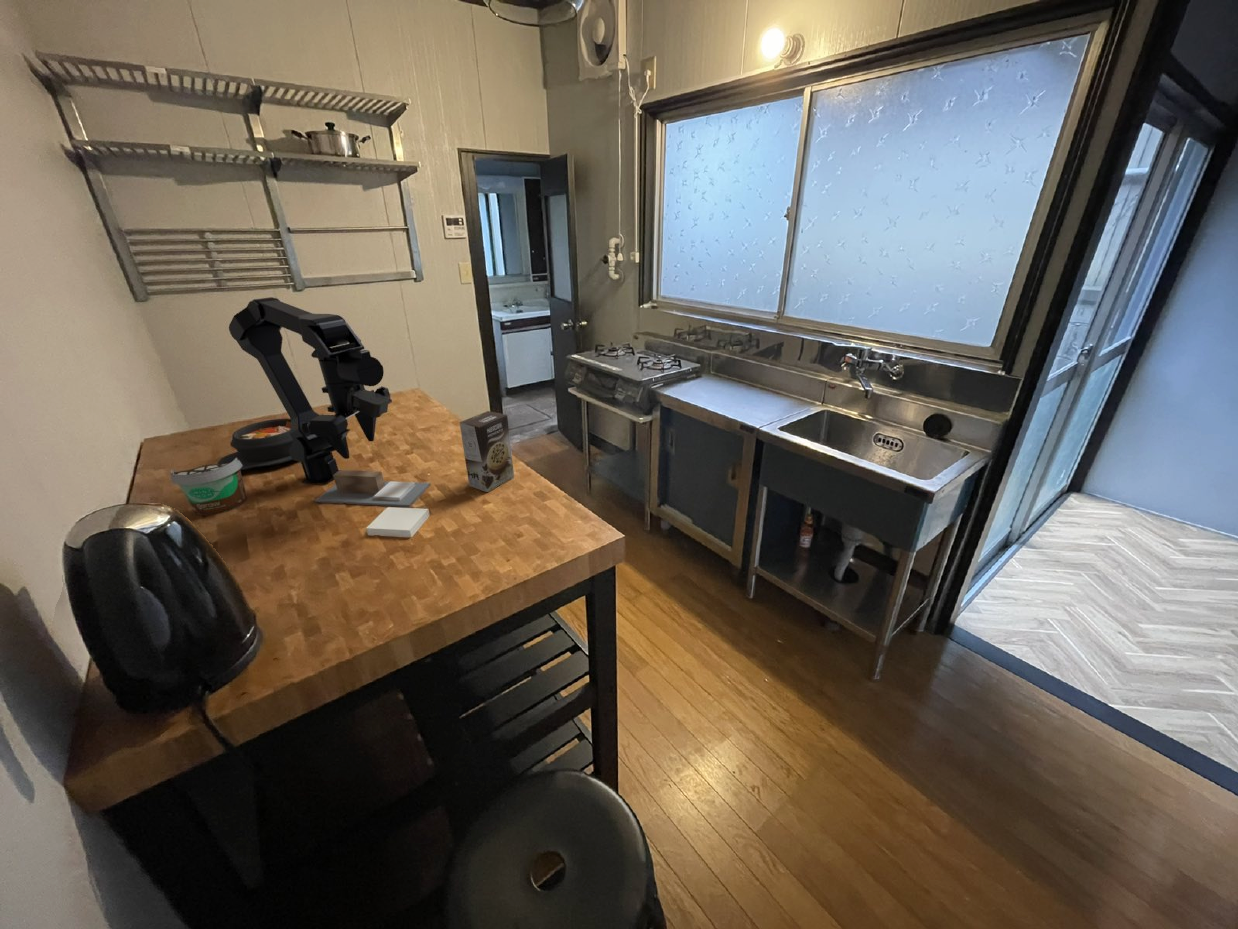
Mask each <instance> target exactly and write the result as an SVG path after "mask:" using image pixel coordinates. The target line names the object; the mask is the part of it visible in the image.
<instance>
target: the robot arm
mask: <svg viewBox="0 0 1238 929" xmlns="http://www.w3.org/2000/svg"><path fill="white" fill-rule="evenodd" d="M283 328H284V329H286V330H289V331H291V332H293V333H296V334H298V335H300V336H301V339H302V341H303V342H304V343H305V344H306V345H308V346H310V347H312V348H313V351H312V352H311V355H310V356H311V357H312V358H313V359H317V360H318V363H319V366H320V371H321V373H322V377H323V381H324V384H325V386H322V387H321V391H322V394H328V397H329V401H330V405H329V406H327V413H334V414H319V413H317V412H316V411H315V410H314V409H313V407H312V405H311V404H310V401H309V400H308V398H307V396H306V395H305V392H304V391H303V389H302V387H301V385H300V383H299V381H298V379H297V378H296V376H295V374H294V372H293V371H292V369H291V367H290V365H289V363H288V362H287V360H286V358H285V355H284V354H283V352H282V347H283V345H282V344H283V335H282V333H281V331H282V329H283ZM228 331H229V334H230V335H231V337H232V338H233V340H235V341H236V342H237V344H238V345H239V347H240V348H241V350H242V351H243V352H245V353H246V354H249V355H250V356H252V357H253V358H255V359H256V360H257V361H258V363H259V364H260V367H261V368H262V370H263V372H264V374H265V375H266V377H267V379H268V380H269V383H270V384H271V386H272V388H273V390H274V391H275V394H276V396H277V397H278V399H279V401H280V402H281V404H282V405H283V408H284V409H285V411H286V413H287V415H288V417H289V419H291V426H290V435H291V437H292V439H293V442H292V444H291V447H290V449H289V454H290V456H291V458H292V459H293V460H292V461H296V462H298V463H299V462H300V463H301V467H302V469H303V472H304V476H305V478H304V479H302V480H301V483H302V484H319V485H327V484H329V483H330V482H332V481H333V480H334V477H333V475H334V474H335V473H336V472H338V471H339V470H340V469H339V467H338V464H337V463H338V462H337V461H336V458H334V455H333V452H335V451H336V452H337V453H338V454H339V455H340V457H341V458H343V460H345V459H347V460H348V459H350V450H349V445H348V441H347V436H348V434H349V432H350V431H351V429H350V428H348V427H349V423H348V419H350V418H351V417H353V416H355V418H356V421H357V422H358V424H359V426H360V428H361V430H362V433H363V434H364V436H365V438H366V440H367V441H368V442H374V441H375V433H376V424H377V419H378V418H380V417H382V415H383V414H385V413H388V408H389V404H391V403H392V401H393V399H392V397H391V394H390V391H389V388H388V387H385V386H379V387H378V388H377V389H376V390H374V389H371V390H368V389H366V387H375V386H377V385H379V383H381V381H382V379H383V378H384V367H383V364H381V361H380V360H378V359H377V358H376V357H375V356H371V352H370V350H369V349H365V346H364V344H363V343H362V340H361V339H360V337H359V336H358V335H357V334H356V333H355V332H354V330H353V329H352V328H351V326H350V325H349V323H348V322H347V321H346V320H345V318H344V317H342V316H340V315H339V314H335V313H334V314H332V313H312V312H310V311H306V310H304V309H302V308H299V307H296V306H294V305H291V304H289V303H286V302H283V301H280V299H278V298H276V297H273V296H270V297H269V296H268V297H262V298H254V299H252V300H250V301H249V302H248V304H247V306H246V307H245V308H243V309H242V310H240V311H239V312H237V313H236V314H235V315H233V317H232V319H231V321H230V323H229V324H228ZM365 386H366V387H365Z"/></svg>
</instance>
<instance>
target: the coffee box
mask: <svg viewBox="0 0 1238 929" xmlns="http://www.w3.org/2000/svg"><path fill="white" fill-rule="evenodd" d="M459 428H460V434H461V441H462V447H463V455H464V460H465V468H466V472H467V473H466V474H467V480H468V486H469V487H471V488H474V489H476V490H480V491H482V492H485V493H488V492H491V491H492V490H494V489H496V488H498V487H500V486H501V485H504V484H505V483H507V482H508V481H510V480H512V479H514V478H515V471H514V463H513V455H512V446H511V437H510V428H509V419H508V415H507V414H503V413H500V412H495V411H489V410H487V411H484V412H482V413H480V414H477V415H475V416H472V417H469V418H467V419H464V420H461V421H459ZM499 485H500V486H499ZM497 486H498V487H497Z"/></svg>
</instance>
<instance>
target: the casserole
mask: <svg viewBox="0 0 1238 929" xmlns="http://www.w3.org/2000/svg"><path fill="white" fill-rule="evenodd" d="M290 426H291V419H290V418H276V419H274V418H273V419H268V420H261V421H258V422H255V423H250V424H248V425H245V426H242V427H240V428H238V429H237V430H235V431H234V432H233V433H232V436H231V441H230V443H229V444H230V447H232V448H233V449H235V450H236V451H235V452H232V453H229V454H228V455H227V454H226V455H225V456H223V457H221V458H220V459H219V460H218V462H217V463H216V465H217V464H226V463H231V462H232V461H234V460H235V459H236V458H237V459H238V460H239V461H240V462H241V463H242V465H243V466H242V467H241V468H240V471H244V470H248V469H253V468H260V467H272V466H277V465H282V464H285V463H288V462H291V461H294V460H293V459H292V458H291V456H290V454H289V449H290V447H291V444H292V442H293V439H292V437H291V435H290Z"/></svg>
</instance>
